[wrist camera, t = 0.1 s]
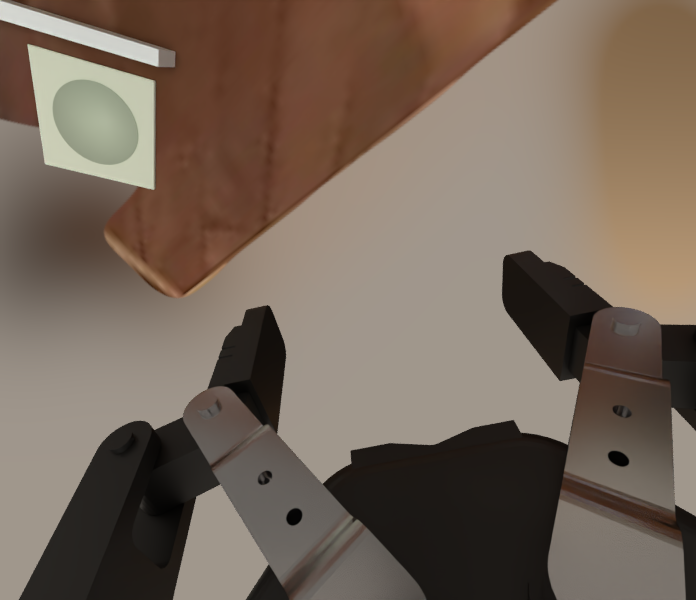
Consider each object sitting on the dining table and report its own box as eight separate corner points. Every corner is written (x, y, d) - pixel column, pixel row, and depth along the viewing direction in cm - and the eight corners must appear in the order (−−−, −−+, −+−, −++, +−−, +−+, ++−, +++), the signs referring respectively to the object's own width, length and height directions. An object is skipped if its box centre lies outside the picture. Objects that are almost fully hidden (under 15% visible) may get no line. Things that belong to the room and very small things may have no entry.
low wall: (-39, -15, 29) (-86, -26, 25) (175, 51, 32) (158, 49, 29) (-35, 3, 29) (-81, -5, 26) (174, 67, 33) (158, 66, 29)
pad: (30, 44, 31) (25, 44, 31) (155, 80, 33) (153, 81, 33) (47, 163, 36) (43, 164, 36) (155, 188, 38) (153, 190, 38)
